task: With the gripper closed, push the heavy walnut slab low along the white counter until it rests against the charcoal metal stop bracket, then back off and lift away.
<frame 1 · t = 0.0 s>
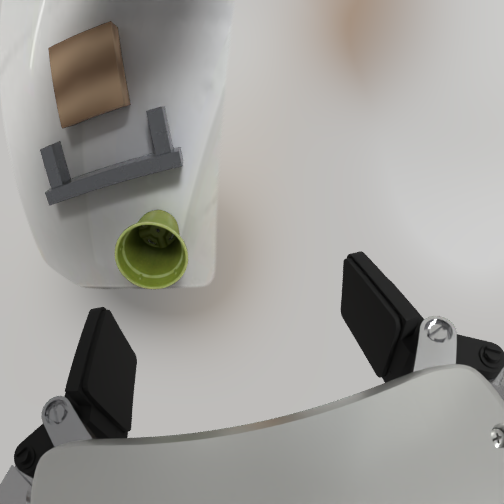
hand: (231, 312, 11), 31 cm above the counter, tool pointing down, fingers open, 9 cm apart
walnut slab: (93, 75, 29), on the counter
stop bracket: (113, 171, 36), on the counter
plant pot: (157, 227, 42), on the counter
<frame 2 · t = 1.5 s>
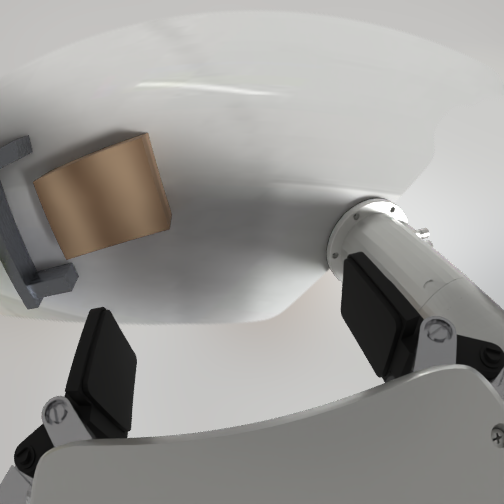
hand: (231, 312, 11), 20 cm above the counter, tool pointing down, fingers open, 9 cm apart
walnut slab: (107, 190, 27), on the counter
stop bracket: (10, 225, 25), on the counter
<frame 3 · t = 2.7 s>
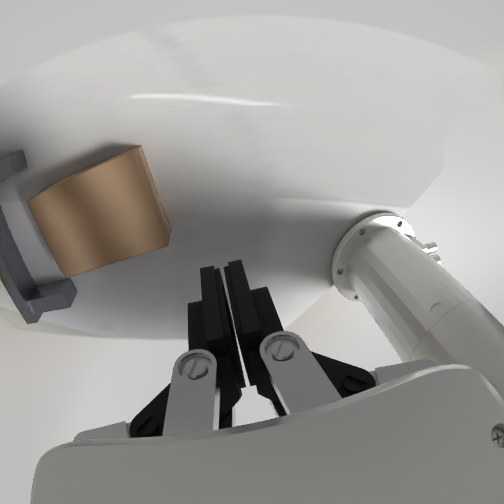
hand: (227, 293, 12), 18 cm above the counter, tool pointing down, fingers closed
walnut slab: (104, 206, 26), on the counter
stop bracket: (8, 240, 25), on the counter
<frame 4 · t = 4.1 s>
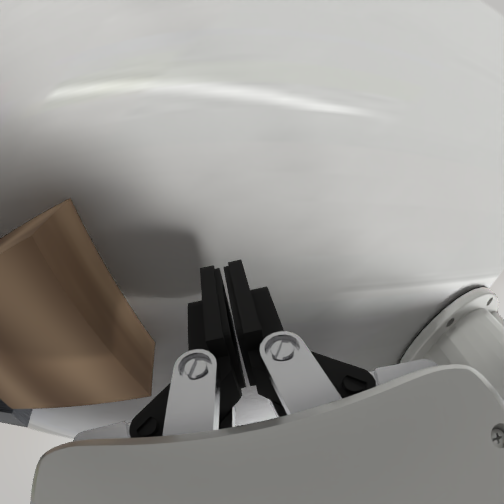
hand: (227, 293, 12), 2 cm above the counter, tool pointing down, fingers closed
walnut slab: (37, 305, 13), on the counter
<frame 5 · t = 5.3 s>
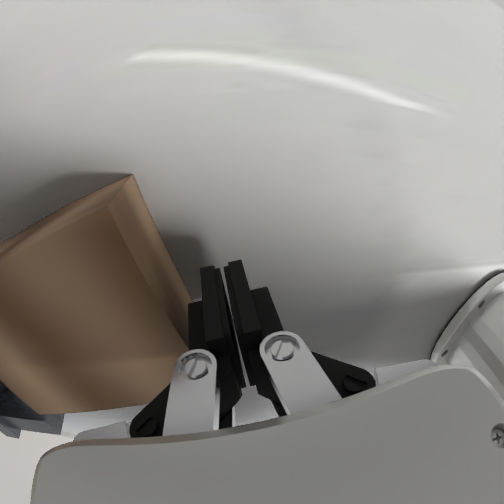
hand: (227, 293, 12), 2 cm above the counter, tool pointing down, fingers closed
walnut slab: (75, 297, 13), on the counter, touching gripper
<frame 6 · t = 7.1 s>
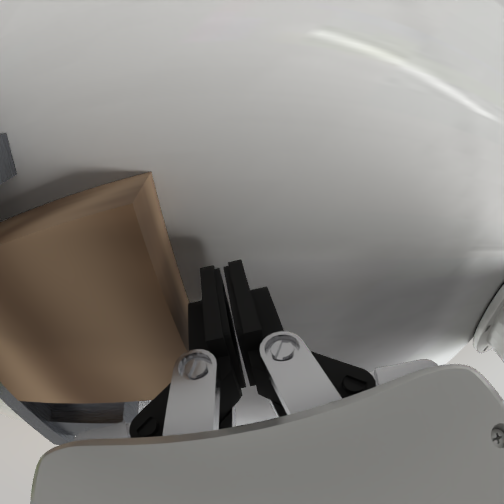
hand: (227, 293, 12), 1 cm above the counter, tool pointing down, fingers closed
walnut slab: (69, 287, 12), on the counter
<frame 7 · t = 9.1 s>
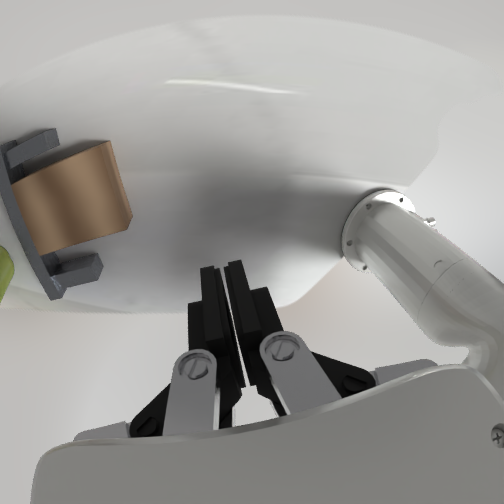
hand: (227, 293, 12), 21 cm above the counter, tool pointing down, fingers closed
walnut slab: (76, 193, 28), on the counter
stop bracket: (33, 217, 28), on the counter
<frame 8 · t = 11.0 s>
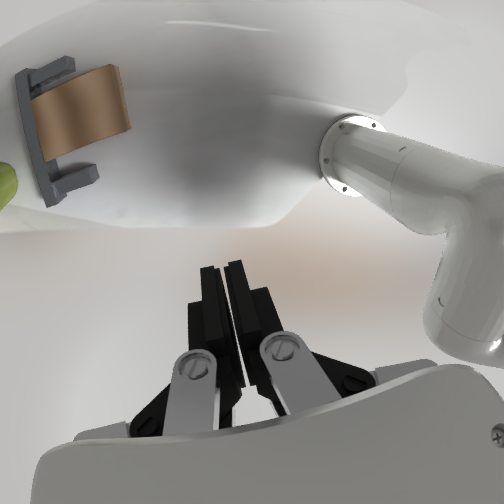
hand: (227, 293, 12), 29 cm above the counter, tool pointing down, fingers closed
walnut slab: (84, 112, 30), on the counter
stop bracket: (43, 134, 30), on the counter
plant pot: (5, 180, 31), on the counter
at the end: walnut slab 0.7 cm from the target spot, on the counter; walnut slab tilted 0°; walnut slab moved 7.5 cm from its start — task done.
